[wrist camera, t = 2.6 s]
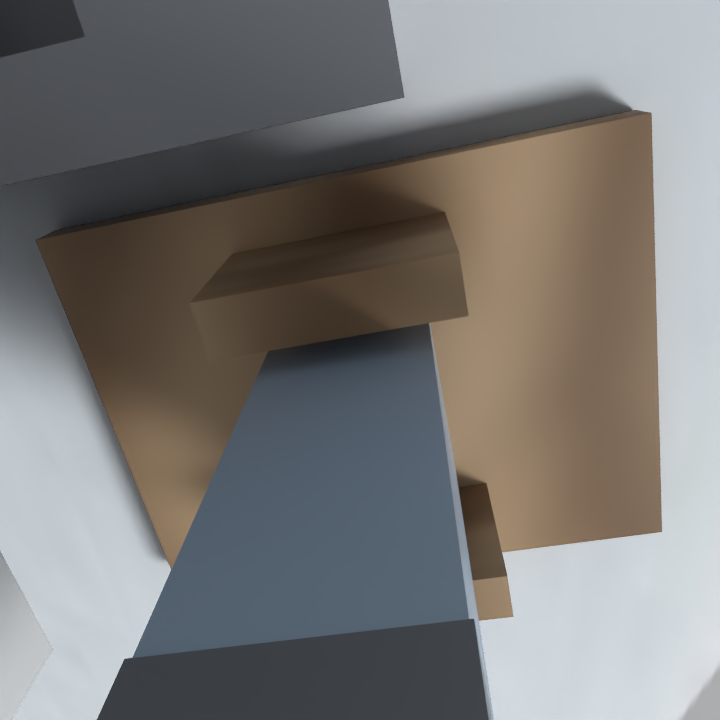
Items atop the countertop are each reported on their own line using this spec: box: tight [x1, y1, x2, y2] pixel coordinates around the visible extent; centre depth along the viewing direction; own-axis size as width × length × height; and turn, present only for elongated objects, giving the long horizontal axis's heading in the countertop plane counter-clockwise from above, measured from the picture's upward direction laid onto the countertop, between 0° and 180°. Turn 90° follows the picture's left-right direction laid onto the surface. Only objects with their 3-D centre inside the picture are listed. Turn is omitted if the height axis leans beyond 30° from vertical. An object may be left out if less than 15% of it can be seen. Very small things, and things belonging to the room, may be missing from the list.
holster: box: [36, 110, 662, 621], centre depth 15 cm, size 14×11×4 cm
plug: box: [97, 323, 494, 720], centre depth 11 cm, size 4×5×12 cm
